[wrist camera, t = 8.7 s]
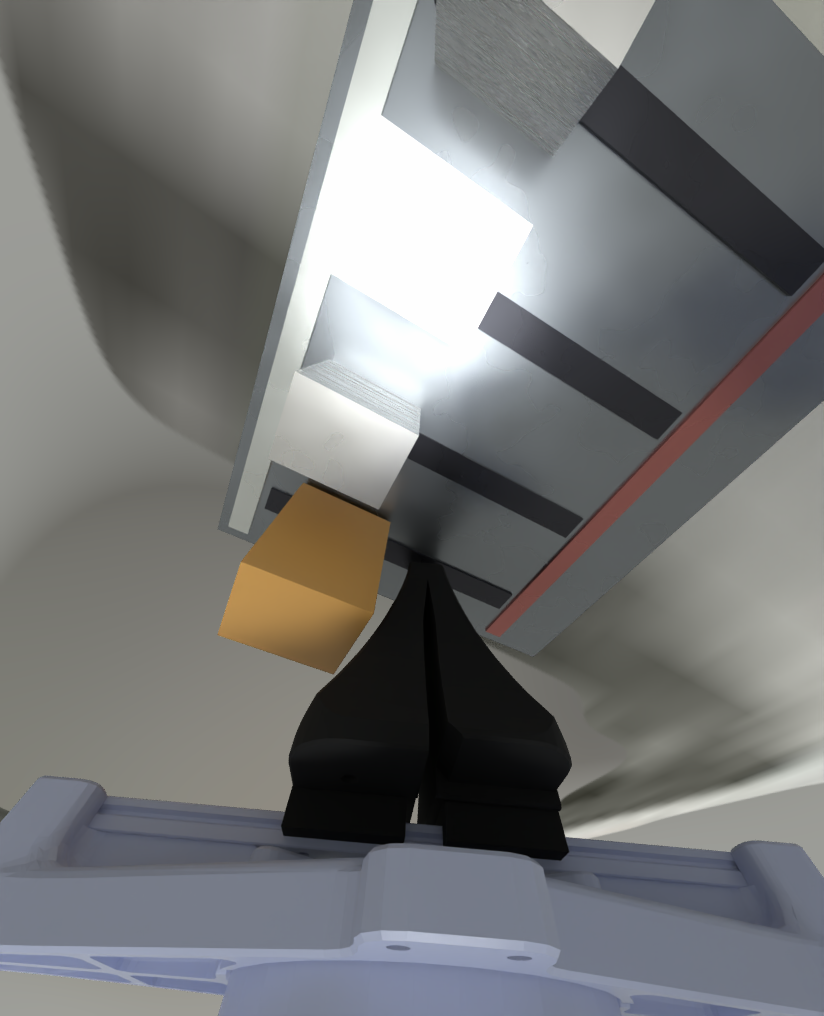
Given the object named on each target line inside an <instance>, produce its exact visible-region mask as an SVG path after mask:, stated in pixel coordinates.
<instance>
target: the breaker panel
mask: <svg viewBox="0 0 824 1016" xmlns="http://www.w3.org/2000/svg"><path fill="white" fill-rule="evenodd" d="M823 400H824V56H823V55H822V54H821V53H820V52H819V51H818V50H817V48H816V47H815V46H814V45H813V44H812V43H811V42H810V41H809V40H808V39H807V38H806V36H805V35H804V34H803V33H802V32H801V31H800V30H799V29H798V28H797V27H796V26H795V25H794V23H793V22H792V21H791V20H790V19H789V18H788V17H787V16H786V15H785V14H784V13H783V12H782V10H781V9H780V8H779V7H778V6H777V5H776V4H775V3H774V2H773V1H772V0H354V1H353V5H352V8H351V12H350V16H349V20H348V24H347V28H346V32H345V36H344V40H343V43H342V47H341V51H340V55H339V59H338V63H337V67H336V71H335V75H334V78H333V82H332V86H331V90H330V94H329V98H328V102H327V106H326V110H325V113H324V117H323V121H322V125H321V129H320V133H319V137H318V141H317V145H316V148H315V152H314V156H313V160H312V164H311V168H310V172H309V176H308V180H307V183H306V187H305V191H304V195H303V199H302V203H301V207H300V211H299V215H298V218H297V222H296V226H295V230H294V234H293V238H292V242H291V246H290V250H289V253H288V257H287V261H286V265H285V269H284V273H283V277H282V281H281V285H280V288H279V292H278V296H277V300H276V304H275V308H274V312H273V316H272V320H271V323H270V327H269V331H268V335H267V339H266V343H265V347H264V351H263V355H262V358H261V362H260V366H259V370H258V374H257V378H256V382H255V386H254V390H253V393H252V397H251V401H250V405H249V409H248V413H247V417H246V421H245V425H244V428H243V432H242V436H241V440H240V444H239V448H238V452H237V456H236V460H235V463H234V467H233V471H232V476H231V479H230V483H229V487H228V491H227V495H226V498H225V503H224V506H223V510H222V514H221V518H220V522H219V526H218V529H219V530H221V531H224V532H226V533H228V534H231V535H234V536H236V537H238V538H241V539H244V540H246V541H248V542H251V543H253V544H255V543H256V542H257V541H258V539H259V538H260V537H261V536H262V534H263V533H264V532H265V531H266V529H267V528H268V527H269V525H270V524H271V523H272V522H273V520H274V519H275V518H276V517H277V515H278V514H279V513H280V511H281V510H282V509H283V508H284V506H285V505H286V504H287V503H288V501H289V500H290V499H291V497H292V496H293V495H294V494H295V492H296V491H297V490H298V489H299V487H300V486H301V485H302V484H303V483H306V484H308V485H310V486H312V487H314V488H317V489H319V490H321V491H323V492H325V493H327V494H330V495H332V496H334V497H336V498H338V499H341V500H343V501H345V502H347V503H349V504H352V505H354V506H356V507H358V508H360V509H363V510H365V511H367V512H369V513H371V514H374V515H376V516H378V517H380V518H382V519H385V520H387V521H389V522H391V523H390V528H389V533H388V539H387V544H386V550H385V555H384V561H383V566H382V571H381V577H380V582H379V588H378V593H377V594H380V595H382V596H384V597H387V598H389V599H392V600H394V601H395V599H396V597H397V595H398V593H399V591H400V589H401V587H402V585H403V582H404V580H405V577H406V574H407V571H408V567H409V563H411V562H421V563H431V564H440V565H442V566H443V567H444V570H445V572H446V575H447V578H448V580H449V582H450V585H451V587H452V589H453V591H454V593H455V595H456V597H457V599H458V601H459V603H460V605H461V607H462V609H463V610H464V612H465V614H466V616H467V617H468V619H469V621H470V622H471V624H472V625H473V627H474V629H475V630H476V632H477V633H478V635H481V636H483V637H486V638H488V639H491V640H493V641H496V642H498V643H501V644H503V645H506V646H508V647H511V648H513V649H516V650H518V651H520V652H523V653H525V654H528V655H530V656H533V657H534V656H535V655H536V654H537V653H538V652H539V651H540V650H542V649H543V648H544V647H545V646H546V645H547V644H548V643H549V642H551V641H552V640H553V639H554V638H555V637H556V636H557V635H559V634H560V633H561V632H562V631H563V630H564V629H565V628H566V627H568V626H569V625H570V624H571V623H572V622H573V621H574V620H576V619H577V618H578V617H579V616H580V615H581V614H582V613H583V612H585V611H586V610H587V609H588V608H589V607H590V606H591V605H593V604H594V603H595V602H596V601H597V600H598V599H599V598H600V597H602V596H603V595H604V594H605V593H606V592H607V591H608V590H609V589H611V588H612V587H613V586H614V585H615V584H616V583H617V582H619V581H620V580H621V579H622V578H623V577H624V576H625V575H626V574H628V573H629V572H630V571H631V570H632V569H633V568H634V567H636V566H637V565H638V564H639V563H640V562H641V561H642V560H643V559H645V558H646V557H647V556H648V555H649V554H650V553H651V552H653V551H654V550H655V549H656V548H657V547H658V546H659V545H660V544H662V543H663V542H664V541H665V540H666V539H667V538H668V537H669V536H671V535H672V534H673V533H674V532H675V531H676V530H677V529H679V528H680V527H681V526H682V525H683V524H684V523H685V522H686V521H688V520H689V519H690V518H691V517H692V516H693V515H694V514H696V513H697V512H698V511H699V510H700V509H701V508H702V507H703V506H705V505H706V504H707V503H708V502H709V501H710V500H711V499H713V498H714V497H715V496H716V495H717V494H718V493H719V492H720V491H722V490H723V489H724V488H725V487H726V486H727V485H728V484H729V483H731V482H732V481H733V480H734V479H735V478H736V477H737V476H739V475H740V474H741V473H742V472H743V471H744V470H745V469H746V468H748V467H749V466H750V465H751V464H752V463H753V462H754V461H756V460H757V459H758V458H759V457H760V456H761V455H762V454H763V453H765V452H766V451H767V450H768V449H769V448H770V447H771V446H773V445H774V444H775V443H776V442H777V441H778V440H779V439H780V438H782V437H783V436H784V435H785V434H786V433H787V432H788V431H789V430H791V429H792V428H793V427H794V426H795V425H796V424H797V423H799V422H800V421H801V420H802V419H803V418H804V417H805V416H806V415H808V414H809V413H810V412H811V411H812V410H813V409H814V408H816V407H817V406H818V405H819V404H820V403H821V402H822V401H823Z"/></svg>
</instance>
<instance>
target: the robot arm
mask: <svg viewBox="0 0 824 1016" xmlns="http://www.w3.org/2000/svg"><path fill="white" fill-rule="evenodd" d="M571 766H572V763H571V757H570V754H569V751H568V748H567V745H566V742H565V740H564V738H563V736H562V733H561V731H560V729H559V727H558V725H557V722H556V720H555V718H554V717H553V716H552V715H551V714H550V713H549V712H548V711H547V710H546V709H545V708H544V707H542V705H540V704H539V703H538V702H537V701H536V700H535V699H534V698H533V697H532V696H530V694H528V693H527V692H526V691H525V690H524V689H523V688H522V686H521V685H520V684H519V683H518V682H517V681H516V680H515V679H514V678H513V677H512V676H511V675H510V673H509V672H508V671H507V670H506V669H505V668H504V667H503V665H502V664H501V663H500V662H499V661H498V660H497V659H496V658H495V656H494V655H493V654H492V652H491V651H490V650H489V648H488V647H487V646H486V644H485V643H484V642H483V640H482V639H481V637H480V636H479V635H478V633H477V632H476V630H475V629H474V627H473V625H472V624H471V622H470V621H469V619H468V617H467V616H466V614H465V612H464V610H463V609H462V607H461V605H460V603H459V601H458V599H457V597H456V595H455V593H454V591H453V589H452V587H451V585H450V582H449V580H448V578H447V575H446V572H445V570H444V567H443V566H442V565H440V564H431V563H421V562H411V563H409V567H408V571H407V574H406V577H405V580H404V582H403V585H402V587H401V589H400V591H399V593H398V595H397V597H396V599H395V601H394V603H393V604H392V606H391V608H390V609H389V611H388V613H387V615H386V616H385V618H384V619H383V621H382V622H381V624H380V625H379V627H378V628H377V629H376V631H375V632H374V634H373V635H372V636H371V637H370V639H369V640H368V641H367V642H366V644H365V645H364V646H363V648H362V649H361V650H360V651H359V652H358V653H357V655H355V657H354V658H353V659H352V660H351V661H350V662H349V663H348V664H347V665H346V666H345V667H344V668H343V670H342V671H340V673H339V674H338V675H336V676H335V678H333V679H332V680H331V681H330V682H329V683H328V684H327V685H326V686H325V687H323V688H322V689H321V690H320V691H319V692H318V693H317V694H316V696H315V698H314V699H313V701H312V703H311V704H310V706H309V708H308V710H307V711H306V713H305V715H304V717H303V719H302V721H301V723H300V725H299V728H298V730H297V732H296V735H295V738H294V741H293V744H292V748H291V751H290V754H289V767H290V772H291V777H292V783H293V786H292V790H291V793H290V797H289V800H288V803H287V807H286V811H285V812H281V811H270V810H259V809H247V808H237V807H226V806H215V805H203V804H192V803H181V802H171V801H160V800H148V799H137V798H126V797H115V796H107V794H106V791H105V789H104V788H103V787H102V786H101V785H100V784H98V783H96V782H93V781H90V780H85V779H77V778H66V777H54V776H42V777H40V778H38V779H37V780H36V781H35V783H34V784H33V785H32V786H31V787H30V788H29V790H28V791H27V792H26V793H25V794H24V795H23V797H22V798H21V799H20V800H19V801H18V803H17V804H16V805H15V806H14V807H13V808H12V810H11V811H10V812H9V813H8V814H7V815H6V816H5V818H4V819H3V820H2V821H1V822H0V970H1V971H12V972H23V973H33V974H43V975H53V976H63V977H71V978H80V979H89V980H99V981H106V982H115V983H123V984H132V985H140V986H149V987H157V988H165V989H173V990H182V991H191V992H200V993H207V994H216V995H224V997H223V1000H222V1004H221V1007H220V1010H219V1014H218V1016H824V878H823V876H822V875H821V873H820V872H819V871H818V869H817V868H816V866H815V865H814V864H813V862H812V861H811V859H810V858H809V857H808V855H807V854H806V852H805V851H804V850H803V848H802V847H800V846H799V845H797V844H791V843H780V842H769V841H747V842H743V843H741V844H738V845H737V846H735V847H734V848H733V849H732V850H731V852H723V851H712V850H702V849H690V848H679V847H668V846H657V845H646V844H635V843H623V842H613V841H602V840H591V839H580V838H569V837H565V834H564V830H563V827H562V823H561V819H560V816H559V812H558V811H560V810H561V802H560V798H559V795H558V791H557V789H558V787H559V786H560V784H561V783H562V782H563V780H564V779H565V777H566V776H567V775H568V773H569V771H570V769H571ZM418 793H419V799H418V820H417V824H414V823H410V820H411V816H412V812H413V808H414V804H415V800H416V798H418Z"/></svg>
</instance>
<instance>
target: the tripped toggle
mask: <svg viewBox="0 0 824 1016" xmlns="http://www.w3.org/2000/svg"><path fill="white" fill-rule="evenodd" d="M390 523H391V522H389V521H387V520H385V519H382V518H380V517H378V516H376V515H374V514H371V513H369V512H367V511H365V510H363V509H360V508H358V507H356V506H354V505H352V504H349V503H347V502H345V501H343V500H341V499H338V498H336V497H334V496H332V495H330V494H327V493H325V492H323V491H321V490H319V489H317V488H314V487H312V486H310V485H308V484H306V483H303V484H302V485H301V486H300V487H299V489H298V490H297V491H296V492H295V494H294V495H293V496H292V497H291V499H290V500H289V501H288V503H287V504H286V505H285V506H284V508H283V509H282V510H281V511H280V513H279V514H278V515H277V517H276V518H275V519H274V520H273V522H272V523H271V524H270V525H269V527H268V528H267V529H266V531H265V532H264V533H263V534H262V536H261V537H260V538H259V539H258V541H257V542H256V543H255V545H254V546H253V547H252V548H251V550H250V551H249V552H248V554H247V555H246V556H245V557H244V558H243V560H242V561H241V563H240V566H239V570H238V573H237V576H236V579H235V582H234V585H233V588H232V591H231V595H230V597H229V601H228V604H227V607H226V610H225V613H224V616H223V619H222V622H221V625H220V629H219V632H218V635H219V636H222V637H225V638H228V639H231V640H233V641H236V642H239V643H242V644H245V645H248V646H251V647H254V648H257V649H260V650H263V651H266V652H269V653H272V654H275V655H278V656H281V657H284V658H286V659H289V660H292V661H295V662H298V663H301V664H304V665H307V666H310V667H313V668H316V669H320V670H322V671H325V672H328V673H331V674H334V673H335V671H336V670H337V668H338V667H339V665H340V664H341V662H342V661H343V659H344V658H345V656H346V654H347V653H348V652H349V650H350V649H351V647H352V646H353V644H354V643H355V641H356V640H357V638H358V637H359V635H360V634H361V632H362V630H363V629H364V628H365V626H366V624H367V623H368V621H369V620H370V618H371V617H372V615H373V614H374V610H375V604H376V599H377V593H378V588H379V582H380V577H381V571H382V566H383V561H384V555H385V550H386V544H387V539H388V533H389V528H390Z"/></svg>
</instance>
